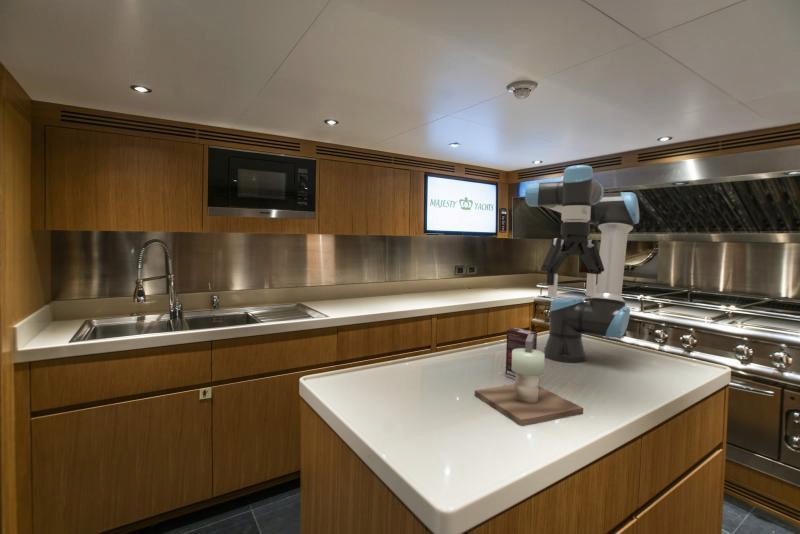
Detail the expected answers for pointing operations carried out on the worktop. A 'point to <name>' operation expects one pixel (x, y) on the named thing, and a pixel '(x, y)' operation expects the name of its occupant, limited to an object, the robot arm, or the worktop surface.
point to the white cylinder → (528, 359)
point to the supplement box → (516, 346)
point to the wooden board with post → (528, 401)
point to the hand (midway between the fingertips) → (571, 296)
